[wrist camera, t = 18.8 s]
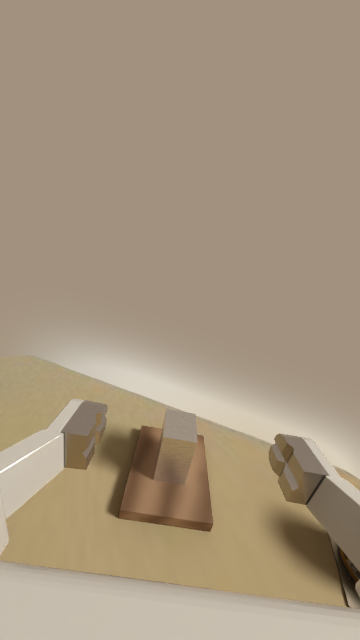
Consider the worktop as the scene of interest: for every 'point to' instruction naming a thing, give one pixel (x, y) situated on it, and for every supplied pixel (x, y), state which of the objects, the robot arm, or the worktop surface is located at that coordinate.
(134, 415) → the worktop surface
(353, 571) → the condiment
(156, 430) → the wooden base with peg
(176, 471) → the tall wooden block
